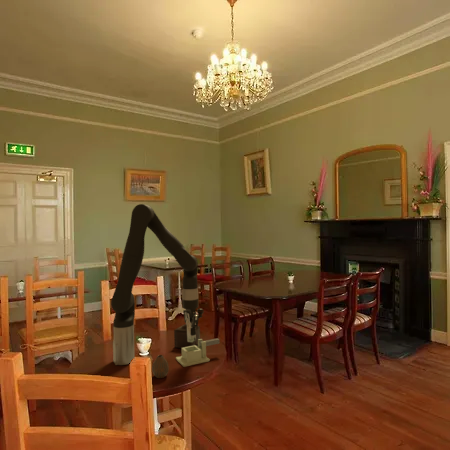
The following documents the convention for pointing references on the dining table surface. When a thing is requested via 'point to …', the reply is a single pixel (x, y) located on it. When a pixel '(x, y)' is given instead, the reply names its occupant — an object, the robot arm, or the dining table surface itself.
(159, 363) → the vase
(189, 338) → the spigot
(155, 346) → the dining table surface
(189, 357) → the dock
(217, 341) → the pin
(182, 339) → the dark piece
